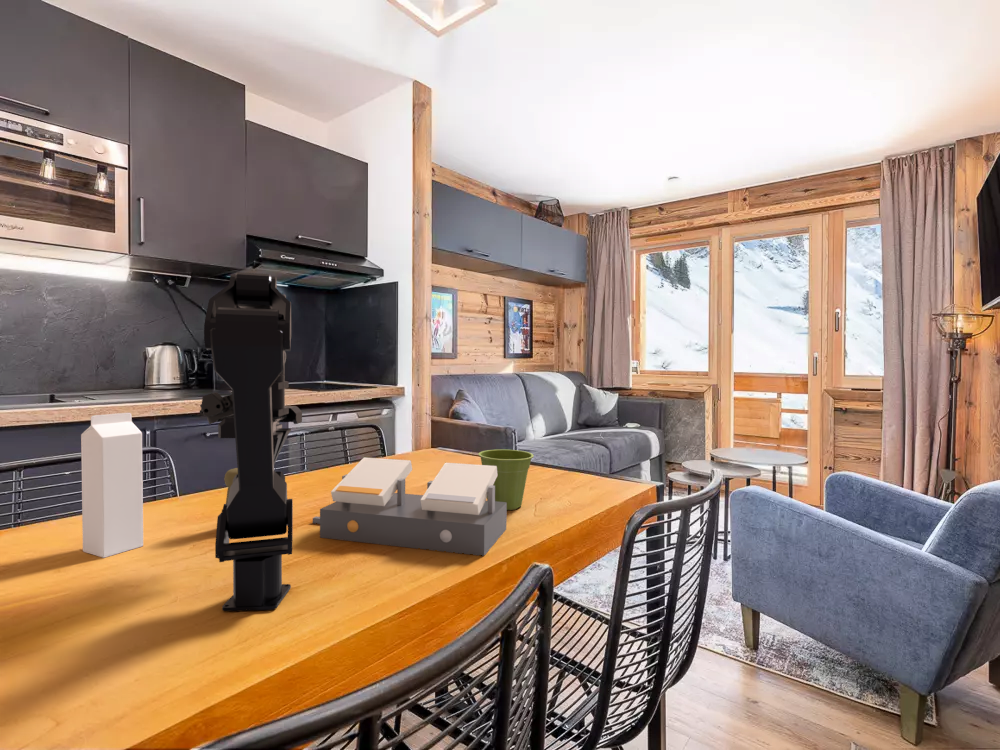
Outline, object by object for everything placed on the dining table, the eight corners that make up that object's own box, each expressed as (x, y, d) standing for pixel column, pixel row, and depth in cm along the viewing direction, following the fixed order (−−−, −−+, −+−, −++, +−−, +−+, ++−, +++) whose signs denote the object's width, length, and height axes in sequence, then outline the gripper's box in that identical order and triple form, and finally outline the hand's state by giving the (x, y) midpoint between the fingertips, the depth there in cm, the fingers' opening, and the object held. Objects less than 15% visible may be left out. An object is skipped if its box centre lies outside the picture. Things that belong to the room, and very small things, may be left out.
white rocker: (478, 514, 86) (477, 503, 86) (422, 509, 89) (420, 498, 88) (497, 475, 97) (496, 465, 96) (446, 471, 100) (445, 461, 99)
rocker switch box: (483, 556, 84) (484, 497, 84) (289, 534, 94) (289, 481, 94) (506, 529, 98) (506, 478, 98) (335, 512, 107) (335, 465, 107)
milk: (82, 552, 85) (79, 414, 84) (123, 540, 90) (120, 411, 89) (104, 558, 82) (100, 416, 81) (144, 546, 87) (142, 413, 87)
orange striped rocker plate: (384, 506, 91) (382, 495, 90) (333, 501, 93) (330, 490, 93) (412, 469, 102) (410, 459, 101) (365, 466, 104) (363, 456, 103)
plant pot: (501, 517, 105) (502, 461, 105) (466, 504, 114) (467, 452, 114) (544, 507, 112) (545, 455, 112) (508, 496, 122) (509, 447, 121)
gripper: (235, 373, 90) (236, 464, 90) (177, 377, 71) (178, 492, 72) (302, 373, 91) (303, 464, 91) (262, 377, 72) (263, 491, 73)
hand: (265, 476), depth 82 cm, fingers closed
